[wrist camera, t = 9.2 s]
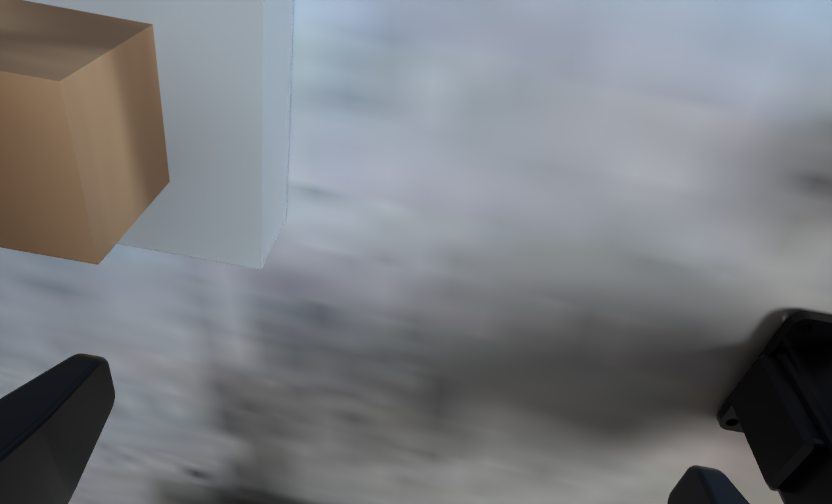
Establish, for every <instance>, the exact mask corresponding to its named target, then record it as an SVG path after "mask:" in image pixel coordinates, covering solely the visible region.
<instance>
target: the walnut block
mask: <svg viewBox="0 0 832 504" xmlns="http://www.w3.org/2000/svg"><path fill="white" fill-rule="evenodd" d="M169 182H170V179H169V170H168V161H167V152H166V142H165V133H164V124H163V114H162V105H161V96H160V87H159V77H158V68H157V59H156V49H155V40H154V31H153V24H148V23H143V22H138V21H132V20H127V19H121V18H116V17H111V16H105V15H100V14H95V13H89V12H84V11H79V10H73V9H68V8H62V7H57V6H52V5H46V4H41V3H36V2H30V1H25V0H0V247H2V248H7V249H13V250H19V251H24V252H30V253H36V254H41V255H47V256H53V257H58V258H64V259H70V260H75V261H81V262H87V263H92V264H99V263H100V262H101V261H102V260H103V258H104V257H105V256H106V255H107V254H108V253H109V251H110V250H111V249H112V248H113V247H114V246H115V244H116V243H117V242H118V241H119V240H120V239H121V238H122V236H123V235H124V234H125V233H126V232H127V231H128V229H129V228H130V227H131V226H132V225H133V224H134V223H135V221H136V220H137V219H138V218H139V217H140V216H141V214H142V213H143V212H144V211H145V210H146V209H147V207H148V206H149V205H150V204H151V203H152V202H153V201H154V199H155V198H156V197H157V196H158V195H159V194H160V192H161V191H162V190H163V189H164V188H165V187H166V186H167V184H168V183H169Z"/></svg>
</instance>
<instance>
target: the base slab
mask: <svg viewBox="0 0 832 504" xmlns="http://www.w3.org/2000/svg"><path fill="white" fill-rule="evenodd" d="M25 1H30V2H36V3H41V4H46V5H52V6H57V7H62V8H68V9H73V10H79V11H84V12H89V13H95V14H100V15H105V16H111V17H116V18H121V19H127V20H132V21H138V22H143V23H148V24H153V31H154V40H155V49H156V59H157V68H158V77H159V87H160V96H161V105H162V114H163V124H164V133H165V142H166V152H167V161H168V170H169V179H170V182H169V183H168V184H167V186H166V187H165V188H164V189H163V190H162V191H161V192H160V194H159V195H158V196H157V197H156V198H155V199H154V201H153V202H152V203H151V204H150V205H149V206H148V207H147V209H146V210H145V211H144V212H143V213H142V214H141V216H140V217H139V218H138V219H137V220H136V221H135V223H134V224H133V225H132V226H131V227H130V228H129V229H128V231H127V232H126V233H125V234H124V235H123V236H122V238H121V239H120V240H119V241H118V242H117V243H116V244H122V245H127V246H133V247H139V248H144V249H150V250H155V251H161V252H166V253H172V254H177V255H183V256H189V257H194V258H200V259H205V260H211V261H216V262H222V263H227V264H233V265H238V266H244V267H250V268H255V269H261V270H262V267H263V265H264V263H265V261H266V259H267V257H268V255H269V253H270V251H271V249H272V247H273V245H274V243H275V241H276V239H277V237H278V235H279V233H280V231H281V229H282V226H283V224H284V222H285V220H286V209H287V181H288V152H289V123H290V94H291V66H292V37H293V8H294V0H25Z"/></svg>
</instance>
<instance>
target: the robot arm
mask: <svg viewBox="0 0 832 504" xmlns="http://www.w3.org/2000/svg"><path fill="white" fill-rule="evenodd" d="M803 324H804V325H803ZM800 325H803V326H800ZM799 326H800V327H799ZM114 400H115V390H114V386H113V381H112V377H111V373H110V368H109V364H108V361H107V360H106V359H105V358H103V357H99V356H94V355H88V354H76V355H73V356H71V357H69V358H68V359H66V360H64V361H63V362H61V363H59V364H58V365H56V366H54V367H53V368H51V369H49V370H48V371H46V372H44V373H43V374H41V375H39V376H38V377H36V378H34V379H33V380H31V381H29V382H28V383H26V384H24V385H23V386H21V387H19V388H18V389H16V390H14V391H12V392H11V393H9V394H7V395H6V396H4V397H2V398H1V399H0V504H68V503H69V501H70V499H71V497H72V495H73V493H74V491H75V489H76V487H77V484H78V482H79V480H80V478H81V476H82V473H83V471H84V469H85V467H86V465H87V462H88V460H89V458H90V456H91V454H92V451H93V449H94V447H95V445H96V443H97V440H98V438H99V436H100V434H101V432H102V429H103V427H104V425H105V423H106V421H107V418H108V416H109V414H110V412H111V409H112V407H113V404H114ZM716 416H717V420H718V422H719V425H720V426H721V427H722V428H723V429H726V430H731V431H737V432H743V433H744V434H745V436H746V439H747V441H748V443H749V445H750V448H751V450H752V452H753V455H754V457H755V459H756V461H757V464H758V466H759V468H760V471H761V473H762V475H763V477H764V480H765V482H766V484H767V485H768V487H769V488H770V489H771V490H773V491H778V492H779V494H780V496H781V499H782V501H783V503H784V504H832V316H828V315H822V314H817V313H811V312H798V313H795V314H793V315H791V316H789V317H788V318H787V319H786V321H785V322H784V323H783V325H782V326H781V327H780V329H779V330H778V332H777V333H776V334H775V336H774V337H773V338H772V340H771V341H770V342H769V344H768V345H767V346H766V348H765V349H764V350H763V352H762V353H761V355H760V356H759V357H758V359H757V360H756V361H755V363H754V364H753V365H752V367H751V368H750V369H749V371H748V372H747V373H746V375H745V376H744V378H743V379H742V380H741V382H740V383H739V384H738V386H737V387H736V388H735V390H734V391H733V392H732V394H731V395H730V396H729V398H728V399H727V401H726V402H725V403H724V405H723V406H722V407H721V409H720V410H719V411H718V413H717V415H716ZM668 504H749V503H748V501H747V500H746V499H745V498H744V497H743V496H742V494H741V493H740V492H739V491H738V490H737V488H736V487H735V486H734V485H733V484H732V482H731V481H730V480H729V479H728V478H727V477H726V476H725V474H723V473H722V472H721V471H719V470H717V469H714V468H708V467H703V466H697V465H694V466H691V467H689V468H688V470H687V471H686V472H685V474H684V475H683V476H682V478H681V479H680V480H679V482H678V483H677V485H676V486H675V487H674V489H673V490H672V491H671V493H670V495H669V498H668Z"/></svg>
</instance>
